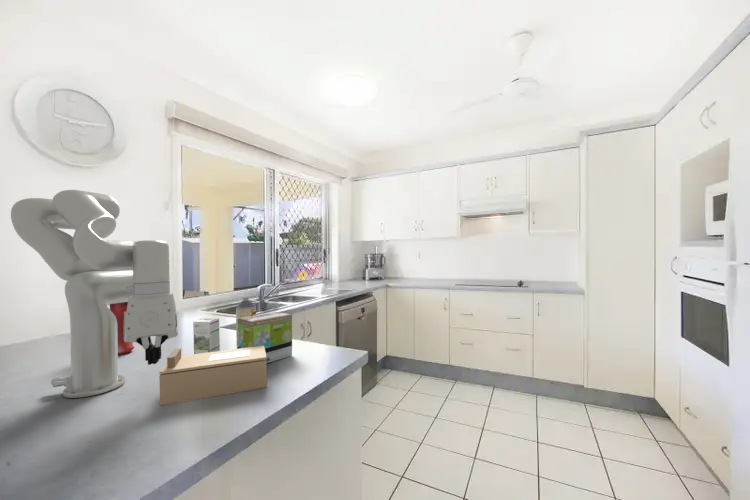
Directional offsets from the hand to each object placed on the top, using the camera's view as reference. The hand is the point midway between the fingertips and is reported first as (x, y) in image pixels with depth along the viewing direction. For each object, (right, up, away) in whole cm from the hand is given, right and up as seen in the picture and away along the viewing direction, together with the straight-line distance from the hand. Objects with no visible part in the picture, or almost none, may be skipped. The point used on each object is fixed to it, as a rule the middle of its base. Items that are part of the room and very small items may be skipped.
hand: (153, 362), depth 79 cm
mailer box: (+14, -8, +5) cm, 17 cm away
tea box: (+19, -9, +27) cm, 34 cm away
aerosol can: (+9, -9, +36) cm, 38 cm away
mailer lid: (+13, -1, +6) cm, 15 cm away
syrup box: (+1, -9, +24) cm, 26 cm away
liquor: (-39, -10, +39) cm, 56 cm away
